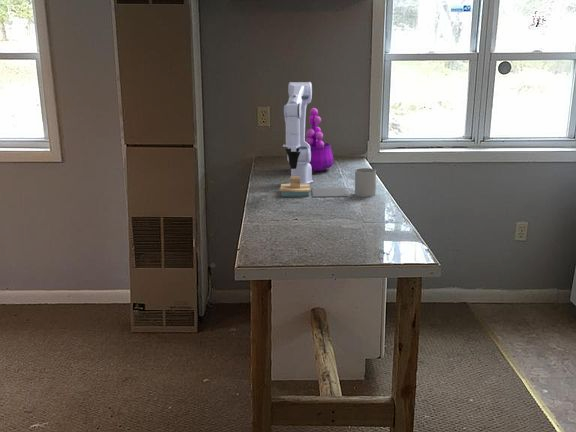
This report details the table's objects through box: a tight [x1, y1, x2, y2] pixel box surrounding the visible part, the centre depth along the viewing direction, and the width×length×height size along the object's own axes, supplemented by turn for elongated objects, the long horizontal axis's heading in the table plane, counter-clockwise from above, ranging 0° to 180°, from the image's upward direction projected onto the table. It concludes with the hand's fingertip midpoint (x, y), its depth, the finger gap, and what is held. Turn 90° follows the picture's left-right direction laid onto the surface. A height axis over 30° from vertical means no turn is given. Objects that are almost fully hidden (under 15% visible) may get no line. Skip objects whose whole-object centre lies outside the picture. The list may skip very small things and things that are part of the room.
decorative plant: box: [305, 107, 334, 172], centre depth 294 cm, size 19×18×30 cm
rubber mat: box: [311, 187, 348, 198], centre depth 254 cm, size 14×14×1 cm
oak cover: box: [279, 175, 311, 193], centre depth 253 cm, size 12×12×5 cm
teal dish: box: [281, 192, 310, 198], centre depth 254 cm, size 11×11×2 cm
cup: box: [354, 167, 377, 198], centre depth 250 cm, size 8×8×10 cm
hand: (293, 167), depth 250 cm, fingers open, 7 cm apart
